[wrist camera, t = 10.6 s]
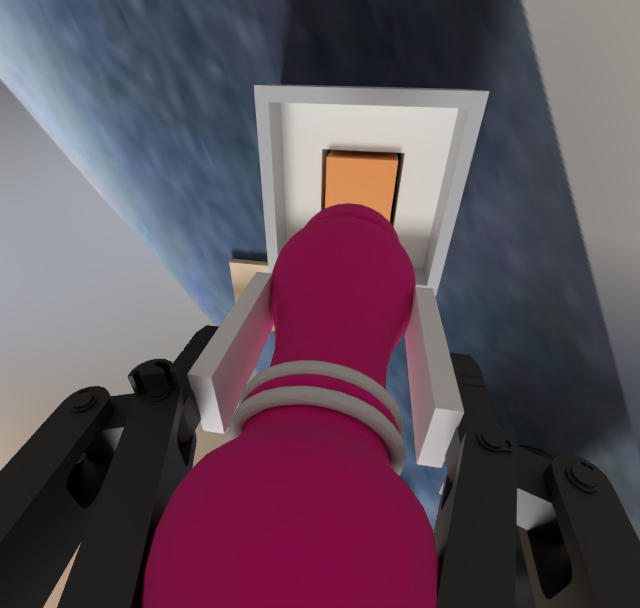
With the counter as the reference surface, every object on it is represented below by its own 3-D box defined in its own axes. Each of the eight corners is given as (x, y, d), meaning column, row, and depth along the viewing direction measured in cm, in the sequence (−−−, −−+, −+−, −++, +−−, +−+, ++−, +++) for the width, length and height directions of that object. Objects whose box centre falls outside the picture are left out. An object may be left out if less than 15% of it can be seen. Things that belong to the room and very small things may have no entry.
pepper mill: (347, 319, 23) (271, 910, 7) (268, 250, 21) (-138, 863, 4) (434, 255, 19) (748, 1187, 3) (349, 164, 17) (-160, 1596, 1)
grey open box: (426, 260, 37) (435, 295, 30) (287, 248, 38) (269, 280, 32) (465, 89, 28) (489, 91, 21) (280, 84, 29) (253, 85, 23)
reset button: (387, 213, 34) (388, 230, 30) (330, 210, 35) (324, 225, 31) (396, 151, 31) (398, 160, 27) (332, 148, 31) (326, 157, 28)
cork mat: (311, 330, 45) (310, 335, 44) (241, 322, 46) (239, 327, 45) (312, 265, 39) (310, 269, 38) (232, 258, 40) (229, 262, 40)
